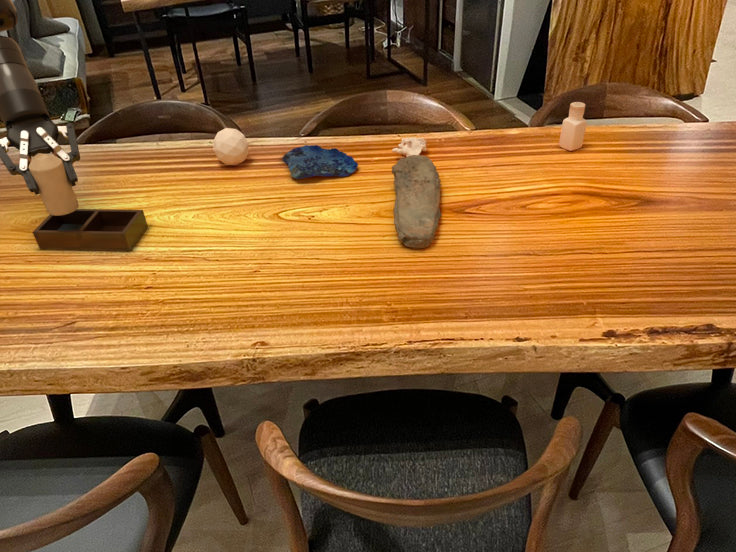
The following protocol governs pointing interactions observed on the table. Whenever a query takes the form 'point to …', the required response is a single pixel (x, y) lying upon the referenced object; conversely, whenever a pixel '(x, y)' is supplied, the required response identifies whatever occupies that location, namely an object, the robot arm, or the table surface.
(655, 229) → the table surface
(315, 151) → the rock
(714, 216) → the table surface
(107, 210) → the box
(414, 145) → the pelvis model
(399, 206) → the long grey stone
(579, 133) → the pepper shaker
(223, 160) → the geometric ball
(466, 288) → the table surface
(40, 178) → the candle
